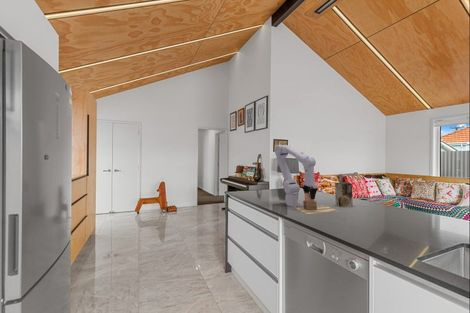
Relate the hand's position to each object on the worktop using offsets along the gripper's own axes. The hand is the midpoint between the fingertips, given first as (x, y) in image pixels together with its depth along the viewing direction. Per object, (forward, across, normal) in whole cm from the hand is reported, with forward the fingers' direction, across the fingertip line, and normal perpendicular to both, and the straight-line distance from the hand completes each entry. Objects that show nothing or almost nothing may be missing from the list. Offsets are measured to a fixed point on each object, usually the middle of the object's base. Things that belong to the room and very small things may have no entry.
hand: (309, 198), depth 156 cm
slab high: (+4, 0, 0) cm, 4 cm away
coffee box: (+8, +2, -25) cm, 26 cm away
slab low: (+7, 0, 0) cm, 7 cm away
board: (+8, -2, -3) cm, 9 cm away
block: (+2, 0, 0) cm, 2 cm away
